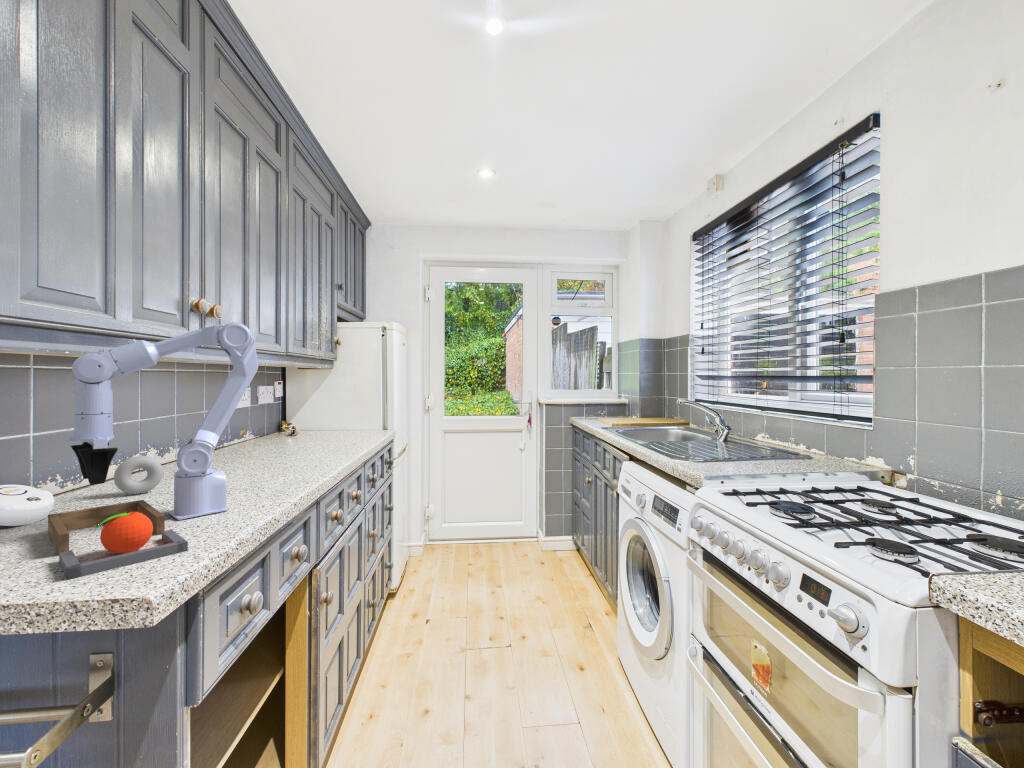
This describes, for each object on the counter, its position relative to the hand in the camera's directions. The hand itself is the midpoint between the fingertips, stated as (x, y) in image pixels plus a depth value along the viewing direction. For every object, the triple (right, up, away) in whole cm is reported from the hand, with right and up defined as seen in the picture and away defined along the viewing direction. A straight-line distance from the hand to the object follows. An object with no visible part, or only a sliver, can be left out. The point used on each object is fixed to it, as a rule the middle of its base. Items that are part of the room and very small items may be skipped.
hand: (93, 480), depth 89 cm
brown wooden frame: (+6, -10, -4) cm, 12 cm away
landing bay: (+19, -10, -14) cm, 25 cm away
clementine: (+17, -10, -13) cm, 24 cm away
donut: (-13, -9, +26) cm, 30 cm away
